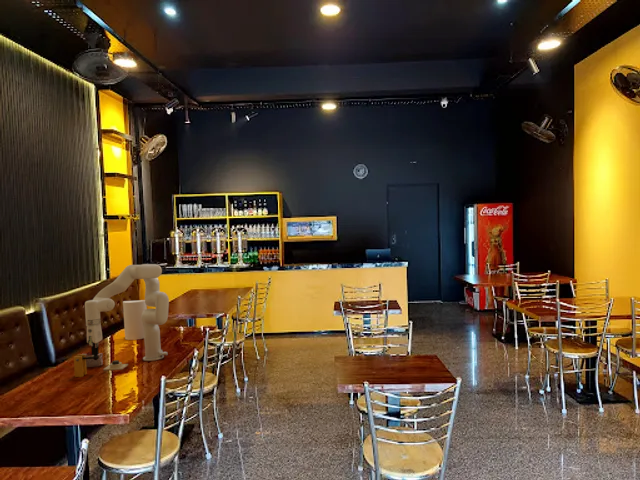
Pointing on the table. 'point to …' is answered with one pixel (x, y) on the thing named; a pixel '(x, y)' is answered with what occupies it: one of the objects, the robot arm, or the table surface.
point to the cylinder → (133, 319)
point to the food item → (94, 362)
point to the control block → (115, 366)
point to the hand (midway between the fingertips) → (95, 354)
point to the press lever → (91, 357)
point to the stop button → (115, 362)
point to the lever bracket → (80, 365)
